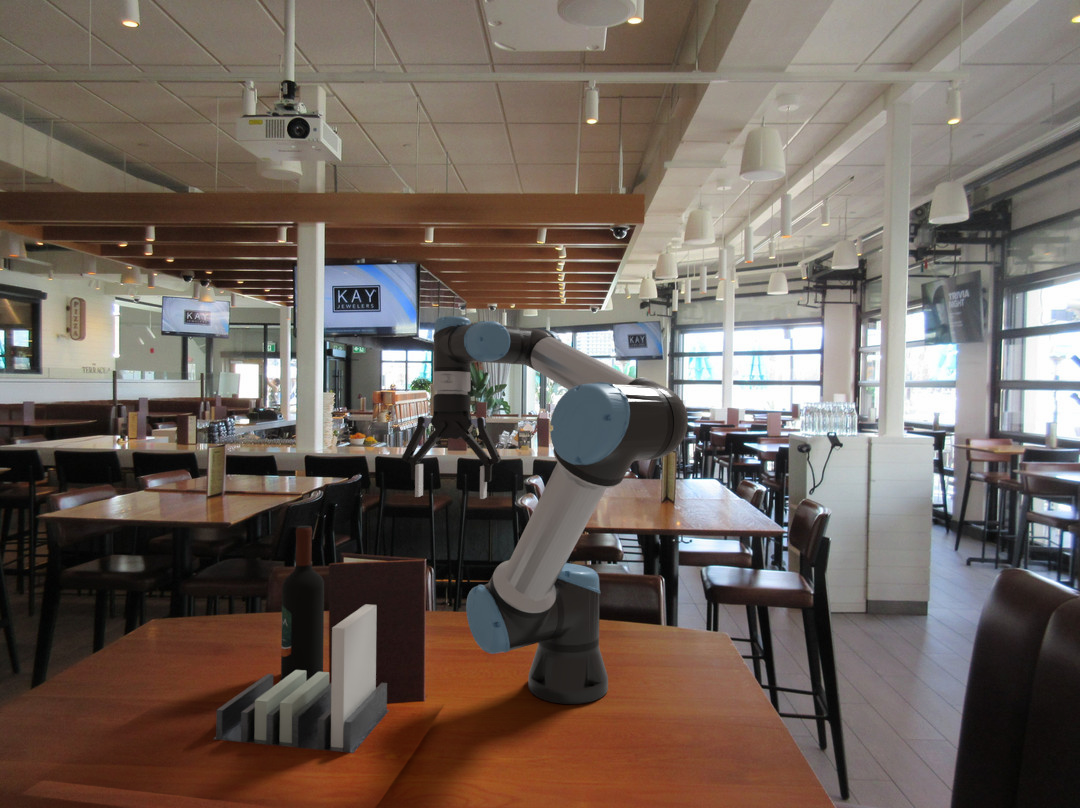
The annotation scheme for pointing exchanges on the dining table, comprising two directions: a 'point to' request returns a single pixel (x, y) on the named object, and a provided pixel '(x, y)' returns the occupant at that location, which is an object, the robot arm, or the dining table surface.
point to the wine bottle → (302, 613)
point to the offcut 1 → (275, 700)
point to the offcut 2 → (299, 702)
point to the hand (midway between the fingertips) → (450, 497)
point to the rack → (299, 719)
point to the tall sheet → (352, 667)
